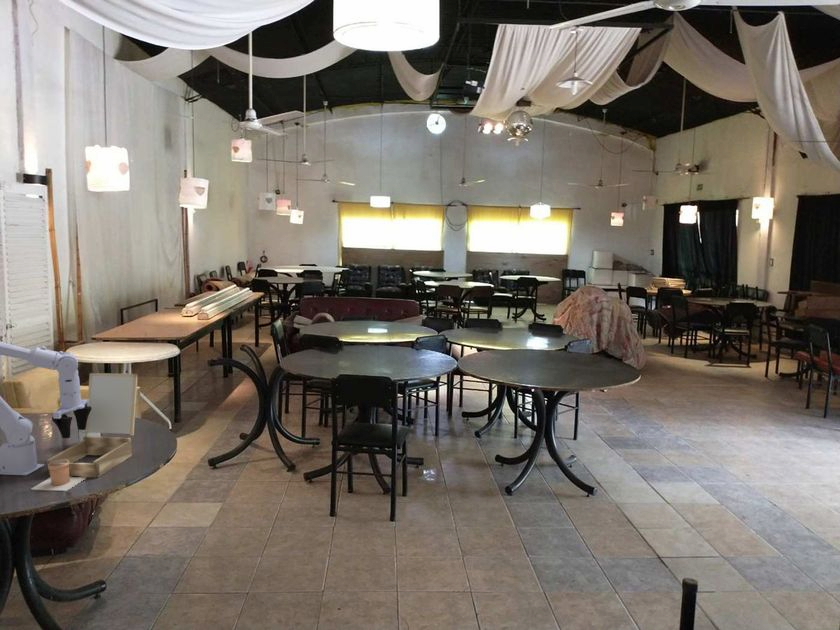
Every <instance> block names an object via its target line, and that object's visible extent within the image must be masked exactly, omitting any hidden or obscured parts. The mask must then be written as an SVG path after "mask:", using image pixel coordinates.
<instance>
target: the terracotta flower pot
mask: <svg viewBox="0 0 840 630" xmlns="http://www.w3.org/2000/svg"><path fill="white" fill-rule="evenodd" d="M69 465H70V462H69V460H56V461H53V462H50V463H49V464H47V470H48V469H49V470H50V477H51V485H52V486H61V485H65V484H67V483H69V482H70V477H71V476H69ZM50 477H49V478H50Z"/></svg>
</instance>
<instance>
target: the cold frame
mask: <svg viewBox="0 0 840 630" xmlns="http://www.w3.org/2000/svg"><path fill="white" fill-rule="evenodd" d="M132 449H133V448H132V439H131V437H122V436H120V437H116V436H102V437H91V436H85V437H83V441H81V442H79V441H78V442H76V444H74V445H72V446H70V447H68V448H66V449H64V450H63V451H61V452H59V453H57V454H55V455H54V456H51V457H50V458H48V459H47V460H46V462H47V465H48V464H49V463H50V462H53V461H56V460H69V462H70V465H69V476H70V477H72V476H79V477H84V478H96V477H97V478H100V477H101V476H103V475H104V474H106V473H107V472H109V471H110V470H112V469H114V468H115V467H117V466H118V465H120V464H121V463H123V462H124V461H125V460H127V459H129V458H131V457H132V455H133V452H132ZM86 455H87V456H100V457H99V458H97V459H95V460H94V461H92V462H93V463H91V462H78V461H80V460H81V459H84V458H85V457H86ZM79 459H80V460H79ZM74 462H75V463H74ZM47 470H48V471H47V472H48V476H49V475H50V470H49V469H48V468H47Z"/></svg>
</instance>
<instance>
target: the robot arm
mask: <svg viewBox="0 0 840 630" xmlns="http://www.w3.org/2000/svg"><path fill="white" fill-rule="evenodd" d="M0 356H3V357H4V356H5V357H10V358H15V359H19V360H20V359H21V360H25V361H27V362H28V363H29V365H30V366H34V367H37V368H43V369H47V370H51V371H57V372H58V379H57V380H58V388H59V399H60V407H58V408H57V409H56V410H55V411H53V412H52V417H51V420H52V422H53V424H55V425H56V427H57V429H58V430H59V432H60V435H61V437H62V439H70V438H71V425H72V421H73V416H68V415H69V414H71V413H73V415H74V417H75V420H76V421H75V422H76V426H77V431H78V430H85V429H86V424H87V419H88V416H89V413H90V411H91V407H90V406H88V405H89V399H88V398H83V399H82V393H81V383H80V376H79V370H78V369H79V359H78V358H77V356H76V355H74V354H73V353H70V352H68V351H67V352H64V351H62V350H60V351H55V350H51V349H47V347H46V346H43V345H42V346H41V347H39V346H37V347H34V348H32V349H30V348H25V347H24V346H23V347H22V346H18V345H15V344H11V343H8V342H4V341H0ZM0 429H1V431H2V432H3V433H4V436H5V439H6V442H4V443H2V444H1V446H0V475H5V476H7V475H9V476H29V475H30V474H32V473H33V472H36V471H37V470H40V469H41V468H43V467H45V464H44V463H38V459H37V458H38V457H37V447H36V441H35V437H33V435H32V432H33V429H34V424H33V422H32V421H31V420H30V419H28V418H26V417H24V416H22V415H21V414H20V413H19V412H17V411H15V410H14V409H13V408H12V407H11V406H10V405H9V404H8V403H7V402H6V401H5V400H4V398H3V397H2V396H1V395H0Z"/></svg>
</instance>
